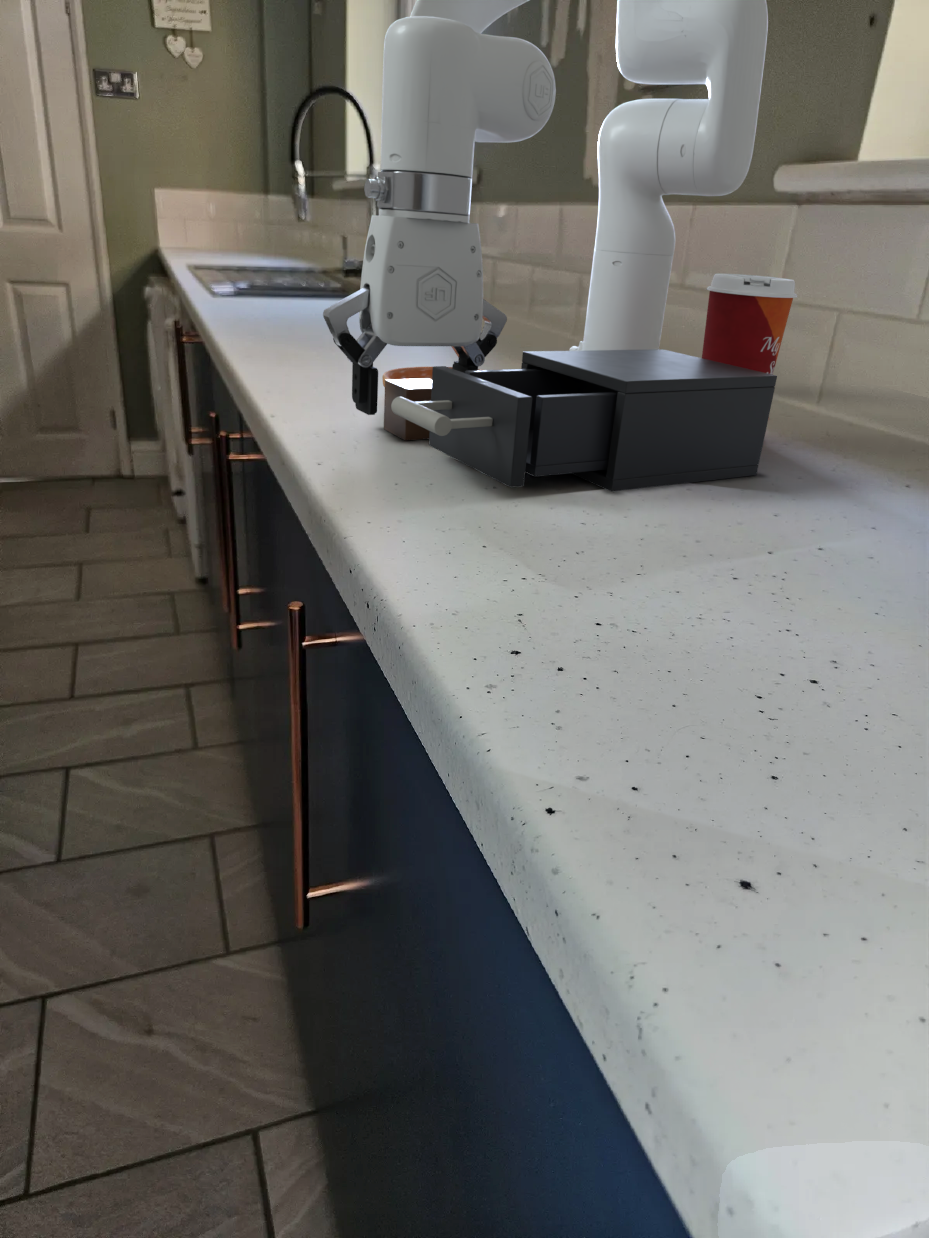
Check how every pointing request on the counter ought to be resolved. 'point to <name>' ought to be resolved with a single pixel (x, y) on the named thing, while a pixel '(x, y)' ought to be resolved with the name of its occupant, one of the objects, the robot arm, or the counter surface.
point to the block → (412, 391)
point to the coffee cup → (747, 320)
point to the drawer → (516, 421)
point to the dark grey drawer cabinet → (671, 414)
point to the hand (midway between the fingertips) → (415, 410)
